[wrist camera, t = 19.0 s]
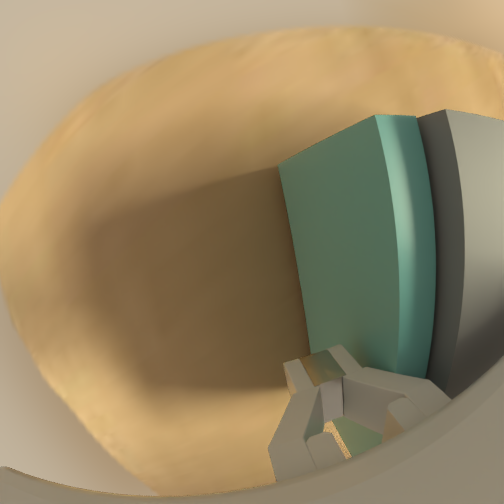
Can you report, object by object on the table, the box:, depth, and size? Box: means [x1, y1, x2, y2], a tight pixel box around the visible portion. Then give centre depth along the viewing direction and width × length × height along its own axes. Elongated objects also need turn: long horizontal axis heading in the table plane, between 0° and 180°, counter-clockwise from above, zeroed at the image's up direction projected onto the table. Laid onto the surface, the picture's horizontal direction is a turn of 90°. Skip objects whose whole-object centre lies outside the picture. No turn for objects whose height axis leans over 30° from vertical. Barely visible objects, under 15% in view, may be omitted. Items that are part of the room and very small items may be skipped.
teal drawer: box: [278, 115, 436, 457], centre depth 11 cm, size 14×14×9 cm
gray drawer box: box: [416, 109, 504, 400], centre depth 11 cm, size 14×14×10 cm
